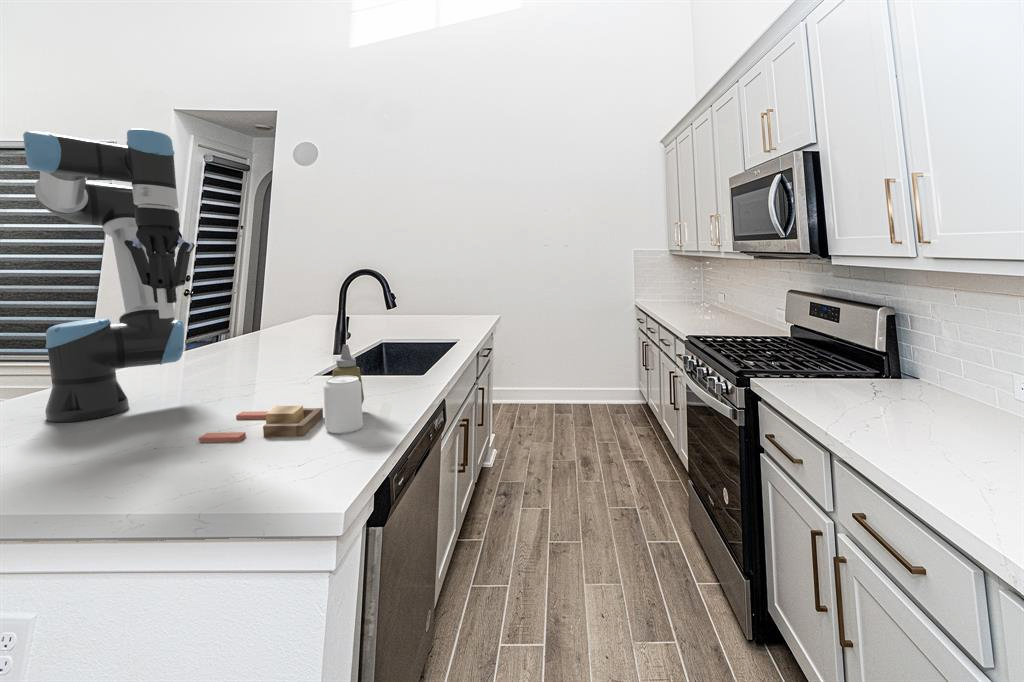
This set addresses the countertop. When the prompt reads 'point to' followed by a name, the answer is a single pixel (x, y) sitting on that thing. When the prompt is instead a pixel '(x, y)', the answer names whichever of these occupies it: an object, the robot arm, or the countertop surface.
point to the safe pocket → (295, 425)
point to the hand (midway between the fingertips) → (167, 317)
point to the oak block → (285, 415)
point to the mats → (232, 435)
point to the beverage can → (343, 404)
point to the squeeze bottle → (347, 367)
